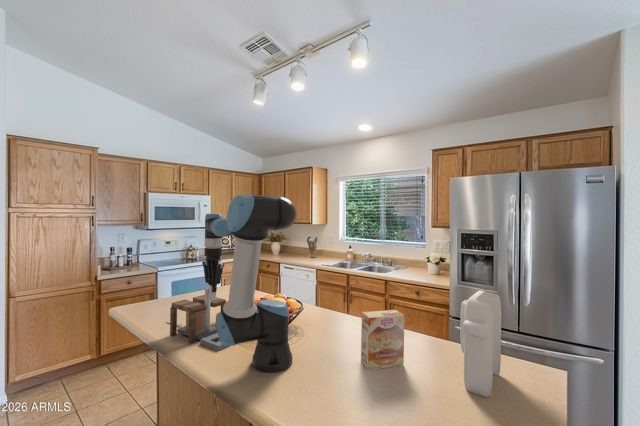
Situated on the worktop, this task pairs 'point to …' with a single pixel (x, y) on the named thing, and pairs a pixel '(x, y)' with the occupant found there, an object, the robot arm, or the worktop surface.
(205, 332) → the white lever handle
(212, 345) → the pit plate
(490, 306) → the white upright slab
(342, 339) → the worktop surface
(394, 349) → the coffeecake box
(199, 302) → the wooden rack
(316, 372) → the worktop surface
